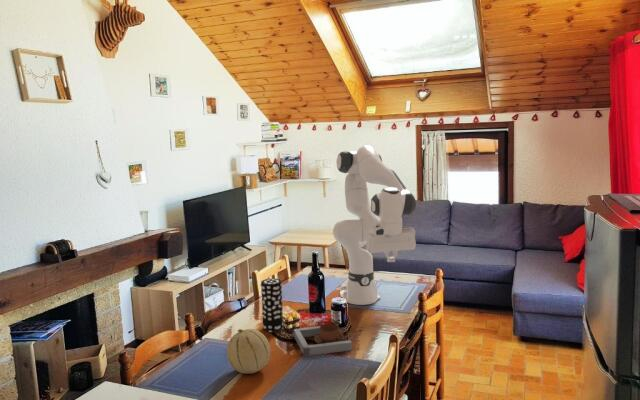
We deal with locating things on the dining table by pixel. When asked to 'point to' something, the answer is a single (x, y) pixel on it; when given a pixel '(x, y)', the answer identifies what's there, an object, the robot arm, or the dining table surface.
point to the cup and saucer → (329, 334)
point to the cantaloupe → (248, 351)
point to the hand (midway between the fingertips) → (391, 261)
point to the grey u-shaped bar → (318, 348)
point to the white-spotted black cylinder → (272, 305)
